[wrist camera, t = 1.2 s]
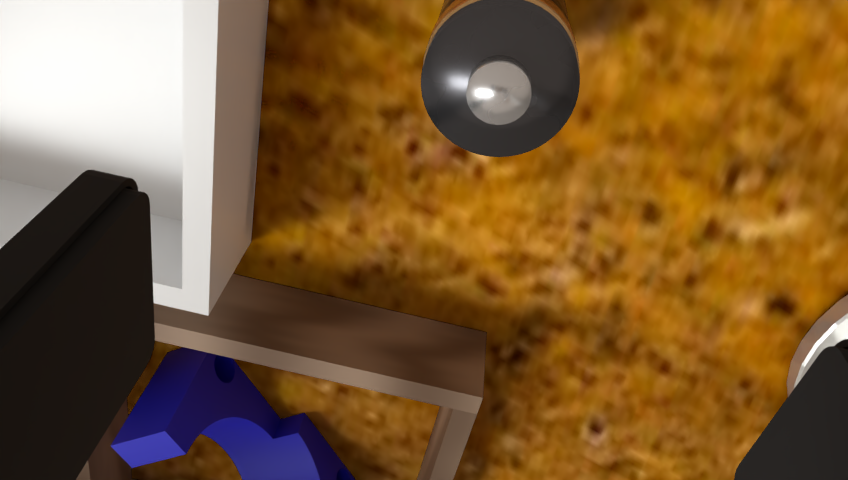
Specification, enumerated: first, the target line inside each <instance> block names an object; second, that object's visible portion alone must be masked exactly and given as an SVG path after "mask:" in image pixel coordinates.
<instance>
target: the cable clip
mask: <svg viewBox="0 0 848 480" xmlns="http://www.w3.org/2000/svg"><path fill="white" fill-rule="evenodd" d="M200 433H201V434H203V435H206V436H207V437H209V438H211V439H212V440H214V441H215V442H216V443H218V444H219V445H220V446H221V447H222V448H223V449H224V450H225V451H226V452H227V454H228V455H229V456H230V458H231V459H232V461H233V462H234V464H235V466H236V467H237V469H238V471H239V473H240V475H241V478H242V480H355V478H354V477H353V476H352V474H351V473H350V472H349V470H348V469H347V468H346V467H345V465H344V464H343V463H342V461H341V460H340V459H339V457H338V456H337V455H336V453H335V452H334V451H333V449H332V448H331V447H330V445H329V444H328V443H327V441H326V440H325V439H324V438H323V436H322V435H321V434H320V432H319V431H318V430H317V428H316V427H315V426H314V424H313V423H312V422H311V420H310V419H309V418H308V416H307V415H306V414H305V413H302V414H298V415H294V416H290V417H287V418H283V419H280V418H279V417H278V415H277V414H276V413H275V411H274V410H273V409H272V408H271V406H270V405H269V404H268V403H267V401H266V400H265V399H264V397H263V396H262V395H261V394H260V392H259V391H258V390H257V389H256V387H255V386H254V385H253V384H252V382H251V381H250V380H249V378H248V377H247V376H246V375H245V373H244V372H243V371H242V370H241V368H240V367H239V366H238V365H237V363H236V362H235V361H234V359H233V358H229V357H225V356H220V355H216V354H211V353H207V352H203V351H198V350H194V349H190V348H185V347H183V348H180V349H177V350H174V351H171V352H168V353H167V354H166V356H165V357H164V359H163V361H162V362H161V364H160V366H159V367H158V369H157V370H156V372H155V374H154V375H153V377H152V379H151V380H150V382H149V384H148V385H147V387H146V388H145V390H144V392H143V393H142V395H141V397H140V398H139V400H138V402H137V403H136V405H135V406H134V408H133V410H132V411H131V413H130V415H129V416H128V418H127V420H126V421H125V423H124V424H123V426H122V428H121V429H120V431H119V433H118V434H117V436H116V437H115V439H114V441H113V442H112V444H111V447H112V448H113V449H114V450H115V451H116V452H117V453H118V454H119V455H120V456H121V457H122V458H123V459H124V460H125V461H126V462H127V463H128V464H129V465H130V466H131V467H132V468H134V467H138V466H142V465H146V464H150V463H154V462H157V461H161V460H165V459H169V458H173V457H177V456H181V455H185V454H187V452H188V450H189V448H190V446H191V445H192V443H193V442H194V440H195V439H196V438H197V437H198V435H199V434H200Z"/></svg>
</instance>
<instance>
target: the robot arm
mask: <svg viewBox="0 0 848 480" xmlns="http://www.w3.org/2000/svg"><path fill="white" fill-rule="evenodd" d="M154 343H155V326H154V299H153V273H152V246H151V220H150V201H149V197H148V194H146V193H145V192H141V191H138V186H137V184H136V181H135V180H133V179H132V178H128V177H123V176H119V175H114V174H110V173H105V172H101V171H96V170H86V171H85V172H83V173H82V174H81V175H79V176H78V177H77V178H76V179H75V180H74V181H73V182H72V183H71V184H70V185H69V186H68V187H67V188H65V189H64V190H63V191H62V192H61V193H60V194H59V195H58V196H57V197H56V198H55V199H54V200H52V201H51V202H50V203H49V204H48V205H47V206H46V207H45V208H44V209H43V210H42V211H41V212H39V213H38V214H37V215H36V216H35V217H34V218H33V219H32V220H31V221H30V222H29V223H28V224H26V225H25V226H24V227H23V228H22V229H21V230H20V231H19V232H18V233H17V234H16V235H15V236H13V237H12V238H11V239H10V240H9V241H8V242H7V243H6V244H5V245H4V246H3V247H2V248H0V480H76V479H77V477H78V475H79V474H80V472H81V471H82V469H83V467H84V466H85V464H86V463H87V461H88V459H89V458H90V456H91V454H92V453H93V451H94V450H95V448H96V446H97V445H98V443H99V442H100V440H101V438H102V437H103V435H104V434H105V432H106V430H107V429H108V427H109V425H110V424H111V422H112V421H113V419H114V417H115V416H116V414H117V413H118V411H119V409H120V408H121V406H122V404H123V403H124V401H125V400H126V398H127V396H128V395H129V393H130V392H131V390H132V388H133V387H134V385H135V384H136V382H137V380H138V379H139V377H140V375H141V374H142V372H143V371H144V369H145V367H146V366H147V364H148V362H149V360H150V358H151V355H152V352H153V348H154ZM787 391H788V398H787V399H786V401H785V402H784V403H783V405H782V406H781V408H780V409H779V410H778V412H777V413H776V414H775V416H774V417H773V419H772V420H771V421H770V423H769V424H768V426H767V427H766V428H765V430H764V431H763V432H762V434H761V435H760V437H759V438H758V439H757V441H756V442H755V443H754V445H753V446H752V448H751V449H750V450H749V452H748V453H747V454H746V456H745V457H744V459H743V460H742V461H741V463H740V464H739V466H738V468H737V470H736V473H735V478H734V480H848V295H847V296H845V297H844V298H842V299H841V300H839V301H838V302H837V303H836V304H835V305H833V306H832V307H831V308H830V309H829V310H828V311H827V312H826V313H825V314H824V315H822V316H821V317H820V318H819V319H818V320H817V321H816V322H815V324H814V325H813V326H812V328H811V329H810V330H809V331H808V333H807V334H806V335H805V337H804V338H803V339H802V340H801V342H800V344H799V346H798V348H797V350H796V352H795V355H794V357H793V359H792V361H791V364H790V369H789V374H788V378H787Z"/></svg>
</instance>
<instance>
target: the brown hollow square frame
mask: <svg viewBox="0 0 848 480" xmlns="http://www.w3.org/2000/svg"><path fill="white" fill-rule="evenodd" d="M154 326H155V341H159V342H163V343H168V344H172V345H177V346H181V347H185V348H190V349H194V350H198V351H203V352H207V353H211V354H216V355H220V356H225V357H229V358H233V359H238V360H242V361H246V362H251V363H255V364H259V365H264V366H268V367H273V368H277V369H281V370H286V371H290V372H294V373H299V374H303V375H308V376H312V377H316V378H321V379H325V380H329V381H334V382H338V383H342V384H347V385H351V386H356V387H360V388H364V389H369V390H373V391H377V392H382V393H386V394H391V395H395V396H399V397H404V398H408V399H412V400H417V401H421V402H425V403H430V404H434V405H439V406H440V409H439V412H438V415H437V418H436V421H435V424H434V428H433V431H432V434H431V437H430V440H429V443H428V446H427V450H426V453H425V456H424V459H423V462H422V465H421V469H420V472H419V475H418V478H417V480H453V479H454V476H455V473H456V471H457V468H458V465H459V462H460V460H461V457H462V454H463V451H464V449H465V446H466V443H467V440H468V438H469V435H470V432H471V430H472V427H473V424H474V421H475V419H476V416H477V413H478V410H479V408H480V405H481V402H482V399H483V390H484V372H485V354H486V336H487V332H482V331H478V330H474V329H469V328H465V327H461V326H456V325H452V324H448V323H443V322H439V321H435V320H430V319H426V318H422V317H417V316H413V315H409V314H405V313H400V312H396V311H392V310H387V309H383V308H379V307H374V306H370V305H366V304H361V303H357V302H353V301H348V300H344V299H340V298H335V297H331V296H327V295H322V294H318V293H314V292H309V291H305V290H301V289H296V288H292V287H288V286H284V285H279V284H275V283H271V282H266V281H262V280H258V279H253V278H249V277H245V276H240V275H236V274H232V276H231V278H230V279H229V281H228V283H227V284H226V286H225V288H224V290H223V291H222V293H221V295H220V297H219V298H218V300H217V302H216V304H215V305H214V307H213V309H212V310H211V312H210V314H209V316H207V315H203V314H199V313H194V312H190V311H186V310H181V309H177V308H173V307H168V306H164V305H159V304H155V303H154ZM127 418H128V408H127V398H126V400H125V401H124V403H123V404H122V406H121V408H120V409H119V411H118V413H117V414H116V416H115V417H114V419H113V421H112V422H111V424H110V425H109V427H108V429H107V430H106V432H105V434H104V435H103V437H102V438H101V440H100V442H99V443H98V445H97V446H96V448H95V450H94V451H93V453H92V454H91V456H90V458H89V459H88V461H87V463H86V464H85V466H84V467H83V469H82V471H81V472H80V474H79V475H78V477H77V479H76V480H135V479H132V472H131V466H130V465H129V464H128V463H127V462H126V461H125V460H124V459H123V458H122V457H121V456H120V455H119V454H118V453H117V452H116V451H115V450H114V449H113V448H112V447H111V444H112V442H113V441H114V439H115V437H116V436H117V434H118V433H119V431H120V429H121V428H122V426H123V424H124V423H125V421H126V420H127Z"/></svg>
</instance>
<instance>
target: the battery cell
mask: <svg viewBox="0 0 848 480" xmlns="http://www.w3.org/2000/svg"><path fill="white" fill-rule="evenodd" d="M579 85H580V75H579V58H578V52H577V48H576V43H575V39H574V35H573V32H572V29H571V27H570V24H569V19H568V15H567V10H566V5H565V0H445V1H444V4H443V7H442V10H441V13H440V16H439V19H438V21H437V23H436V24H435V27H434V29H433V31H432V34H431V37H430V40H429V43H428V46H427V49H426V52H425V56H424V62H423V68H422V76H421V89H422V97H423V101H424V104H425V107H426V110H427V112H428V114H429V116H430V118H431V120H432V121H433V123H434V124H435V126H436V127H437V128H438V129H439V131H440V132H441V133H442V134H443V135H444V136H445V137H446V138H448V139H449V140H450V141H452V142H453V143H454V144H456V145H458V146H459V147H461V148H463V149H465V150H468V151H470V152H473V153H476V154H479V155H485V156H492V157H505V156H513V155H519V154H522V153H525V152H528V151H531V150H533V149H535V148H537V147H539V146H541V145H542V144H544V143H546V142H547V141H548V140H550V139H551V138H552V137H554V136H555V135H556V134H557V133H558V132H559V131H560V130H561V128H562V127H563V126H564V124H565V123H566V122H567V120H568V119H569V117H570V115H571V114H572V111H573V109H574V107H575V104H576V101H577V97H578V92H579Z"/></svg>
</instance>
